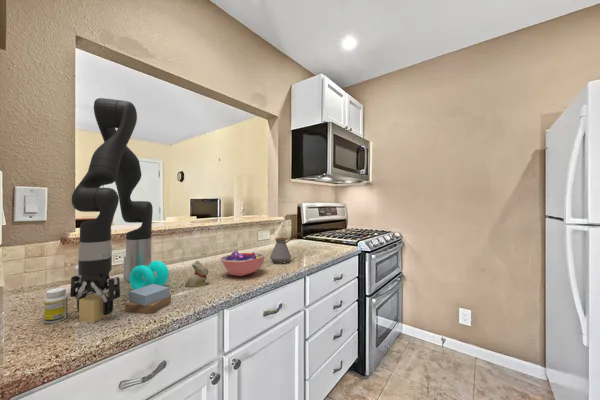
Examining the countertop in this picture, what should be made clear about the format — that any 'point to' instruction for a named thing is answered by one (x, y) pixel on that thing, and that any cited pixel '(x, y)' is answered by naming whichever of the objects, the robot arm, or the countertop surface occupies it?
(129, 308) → the block lower
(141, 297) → the block upper
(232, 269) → the cell model
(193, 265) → the chocolate bunny
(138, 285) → the donuts
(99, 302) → the block top
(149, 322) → the countertop surface
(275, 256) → the coffee pot
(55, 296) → the supplement bottle
